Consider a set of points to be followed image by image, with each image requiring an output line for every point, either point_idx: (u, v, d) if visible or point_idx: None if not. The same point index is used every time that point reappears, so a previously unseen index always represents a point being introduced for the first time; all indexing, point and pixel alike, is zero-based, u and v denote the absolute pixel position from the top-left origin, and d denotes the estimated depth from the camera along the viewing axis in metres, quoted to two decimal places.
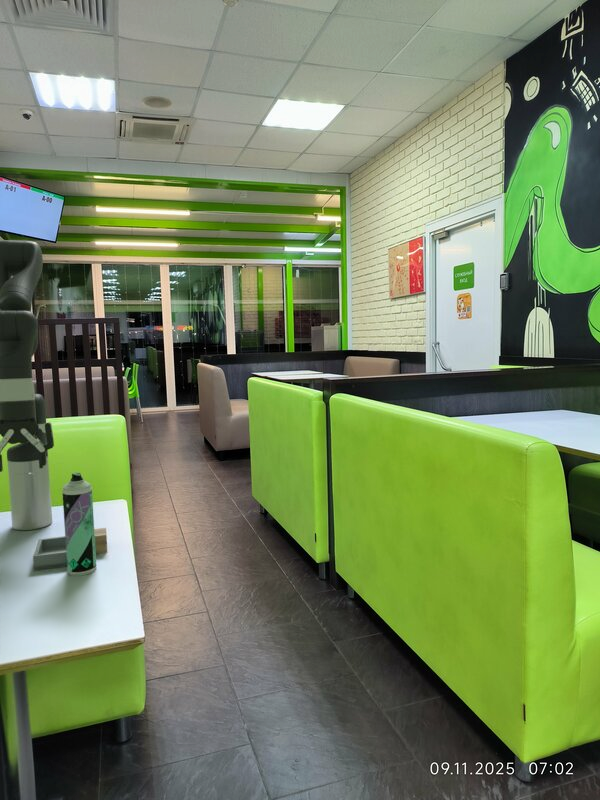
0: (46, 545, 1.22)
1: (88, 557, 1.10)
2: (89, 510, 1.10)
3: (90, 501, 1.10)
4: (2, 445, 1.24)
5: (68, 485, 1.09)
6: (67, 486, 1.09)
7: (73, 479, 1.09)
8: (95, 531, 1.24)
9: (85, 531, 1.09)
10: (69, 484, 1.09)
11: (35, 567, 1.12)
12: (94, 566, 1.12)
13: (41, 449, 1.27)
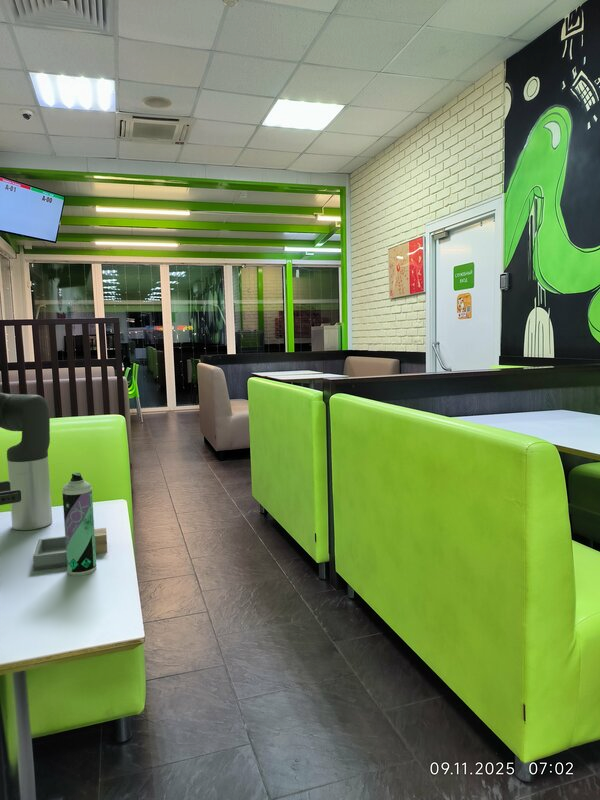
0: (46, 545, 1.22)
1: (88, 557, 1.10)
2: (89, 510, 1.10)
3: (90, 501, 1.10)
4: None
5: (68, 485, 1.09)
6: (67, 486, 1.09)
7: (73, 479, 1.09)
8: (95, 531, 1.24)
9: (85, 531, 1.09)
10: (69, 484, 1.09)
11: (35, 567, 1.12)
12: (94, 566, 1.12)
13: None
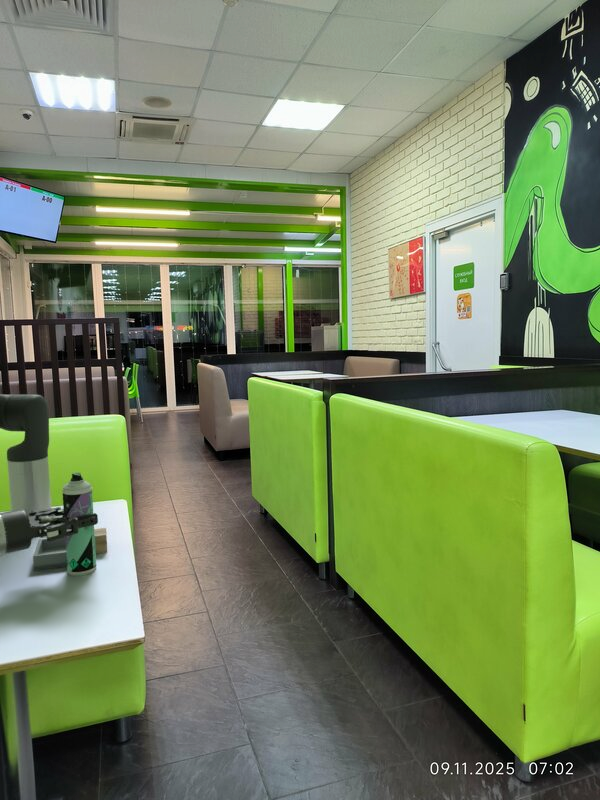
0: (46, 545, 1.22)
1: (88, 557, 1.10)
2: (89, 510, 1.10)
3: (90, 501, 1.10)
4: None
5: (68, 485, 1.09)
6: (67, 486, 1.09)
7: (73, 479, 1.09)
8: (95, 531, 1.24)
9: (85, 531, 1.09)
10: (69, 484, 1.09)
11: (35, 567, 1.12)
12: (94, 566, 1.12)
13: None
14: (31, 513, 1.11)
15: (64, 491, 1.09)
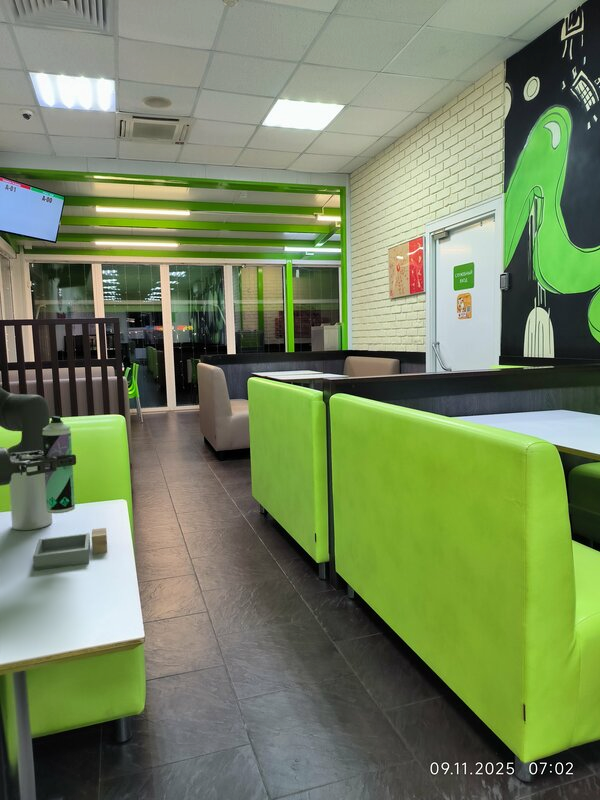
0: (46, 545, 1.22)
1: (66, 496, 1.16)
2: (67, 451, 1.16)
3: (69, 443, 1.16)
4: None
5: (48, 427, 1.14)
6: (47, 427, 1.14)
7: (53, 421, 1.15)
8: (95, 531, 1.24)
9: (63, 470, 1.15)
10: (49, 426, 1.15)
11: (35, 567, 1.12)
12: (72, 505, 1.17)
13: None
14: (12, 454, 1.16)
15: (44, 432, 1.14)
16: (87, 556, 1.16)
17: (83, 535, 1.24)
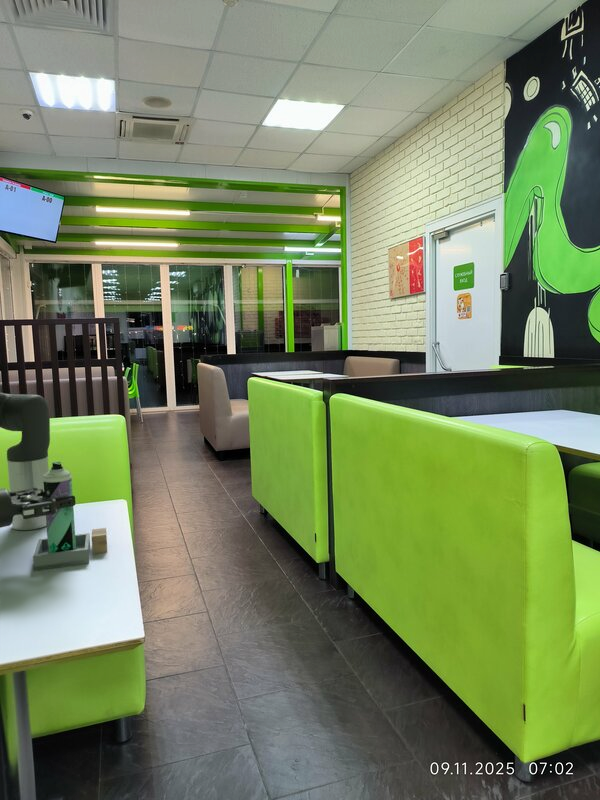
0: (46, 545, 1.22)
1: (67, 541, 1.17)
2: None
3: (70, 488, 1.17)
4: None
5: (49, 473, 1.15)
6: (48, 474, 1.15)
7: (53, 468, 1.16)
8: (95, 531, 1.24)
9: (64, 516, 1.16)
10: (50, 472, 1.16)
11: (35, 567, 1.12)
12: None
13: None
14: (10, 494, 1.17)
15: (45, 479, 1.15)
16: (87, 556, 1.16)
17: (83, 535, 1.24)
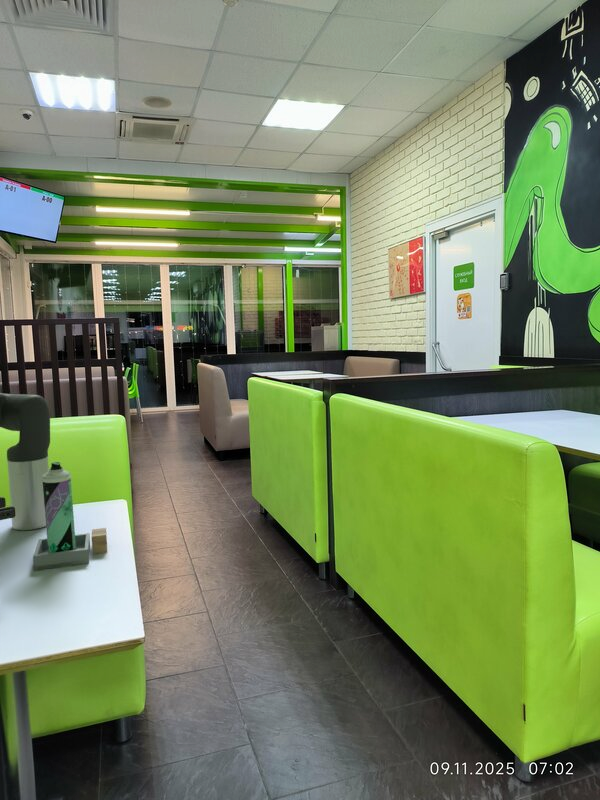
0: (46, 545, 1.22)
1: (67, 541, 1.17)
2: (68, 497, 1.16)
3: (69, 489, 1.17)
4: None
5: (48, 474, 1.15)
6: (47, 475, 1.15)
7: (52, 468, 1.16)
8: (95, 531, 1.24)
9: (64, 517, 1.16)
10: (49, 473, 1.15)
11: (35, 567, 1.12)
12: None
13: None
14: None
15: (44, 479, 1.15)
16: (87, 556, 1.16)
17: (83, 535, 1.24)
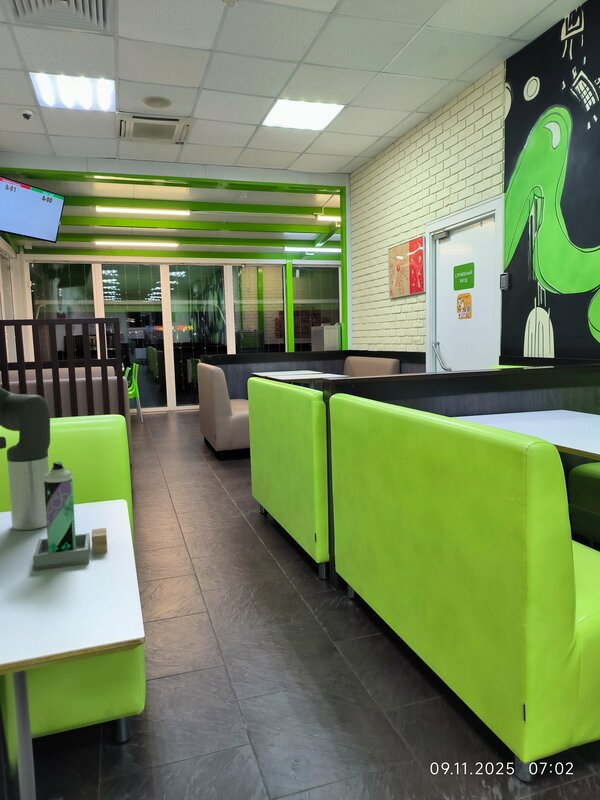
0: (46, 545, 1.22)
1: (67, 542, 1.17)
2: (69, 497, 1.16)
3: (70, 489, 1.17)
4: None
5: (49, 473, 1.15)
6: (48, 474, 1.15)
7: (54, 468, 1.16)
8: (95, 531, 1.24)
9: (65, 516, 1.16)
10: (50, 472, 1.15)
11: (35, 567, 1.12)
12: None
13: None
14: None
15: (45, 479, 1.15)
16: (87, 556, 1.16)
17: (83, 535, 1.24)
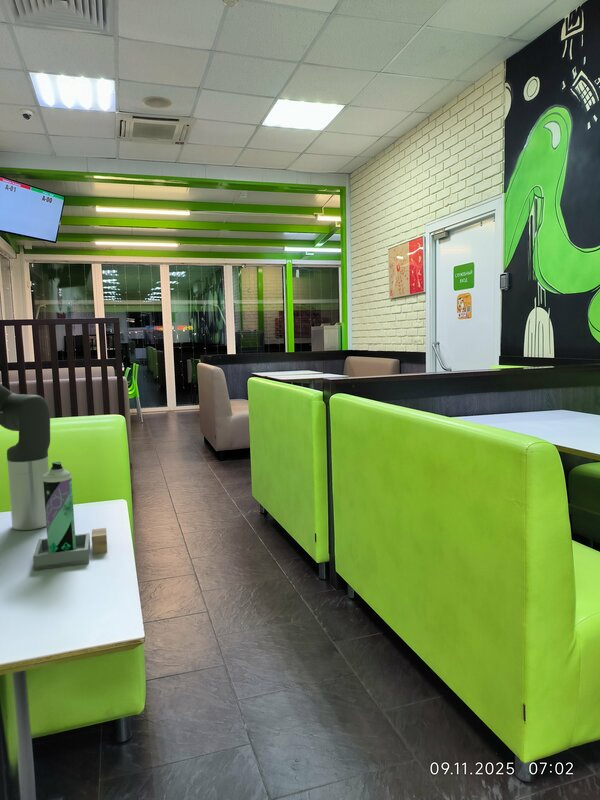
0: (46, 545, 1.22)
1: (67, 541, 1.17)
2: (68, 497, 1.17)
3: (69, 488, 1.17)
4: None
5: (48, 473, 1.15)
6: (47, 474, 1.15)
7: (53, 468, 1.16)
8: (95, 531, 1.24)
9: (64, 516, 1.16)
10: (49, 472, 1.16)
11: (35, 567, 1.12)
12: None
13: None
14: None
15: (45, 479, 1.15)
16: (87, 556, 1.16)
17: (83, 535, 1.24)
